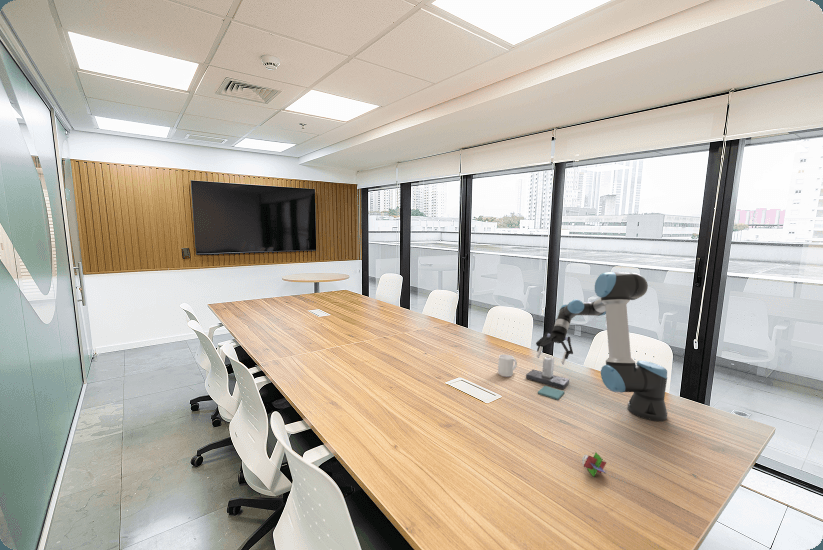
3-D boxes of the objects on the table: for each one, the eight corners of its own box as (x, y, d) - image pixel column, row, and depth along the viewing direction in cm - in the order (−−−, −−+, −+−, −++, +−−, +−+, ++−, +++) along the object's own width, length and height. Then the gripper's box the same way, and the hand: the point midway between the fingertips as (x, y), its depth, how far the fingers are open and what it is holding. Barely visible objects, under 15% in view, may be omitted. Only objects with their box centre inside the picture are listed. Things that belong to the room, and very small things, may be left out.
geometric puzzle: (604, 460, 122) (592, 443, 121) (616, 474, 116) (603, 455, 115) (586, 472, 123) (574, 455, 122) (597, 486, 116) (585, 468, 115)
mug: (511, 369, 209) (512, 352, 207) (521, 375, 201) (522, 357, 200) (494, 372, 204) (495, 355, 202) (504, 378, 196) (505, 360, 195)
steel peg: (552, 381, 194) (554, 358, 192) (549, 383, 190) (551, 360, 189) (544, 378, 197) (546, 356, 195) (541, 381, 193) (543, 358, 192)
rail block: (569, 383, 191) (569, 379, 191) (563, 389, 183) (563, 384, 183) (532, 373, 204) (533, 369, 203) (525, 378, 196) (526, 374, 196)
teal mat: (564, 393, 179) (564, 391, 179) (557, 400, 171) (558, 398, 171) (544, 387, 185) (544, 385, 185) (537, 393, 178) (537, 391, 178)
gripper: (584, 336, 200) (574, 369, 191) (540, 328, 216) (529, 357, 206) (582, 329, 195) (572, 362, 186) (538, 321, 211) (526, 351, 202)
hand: (549, 360), depth 196 cm, fingers open, 13 cm apart
